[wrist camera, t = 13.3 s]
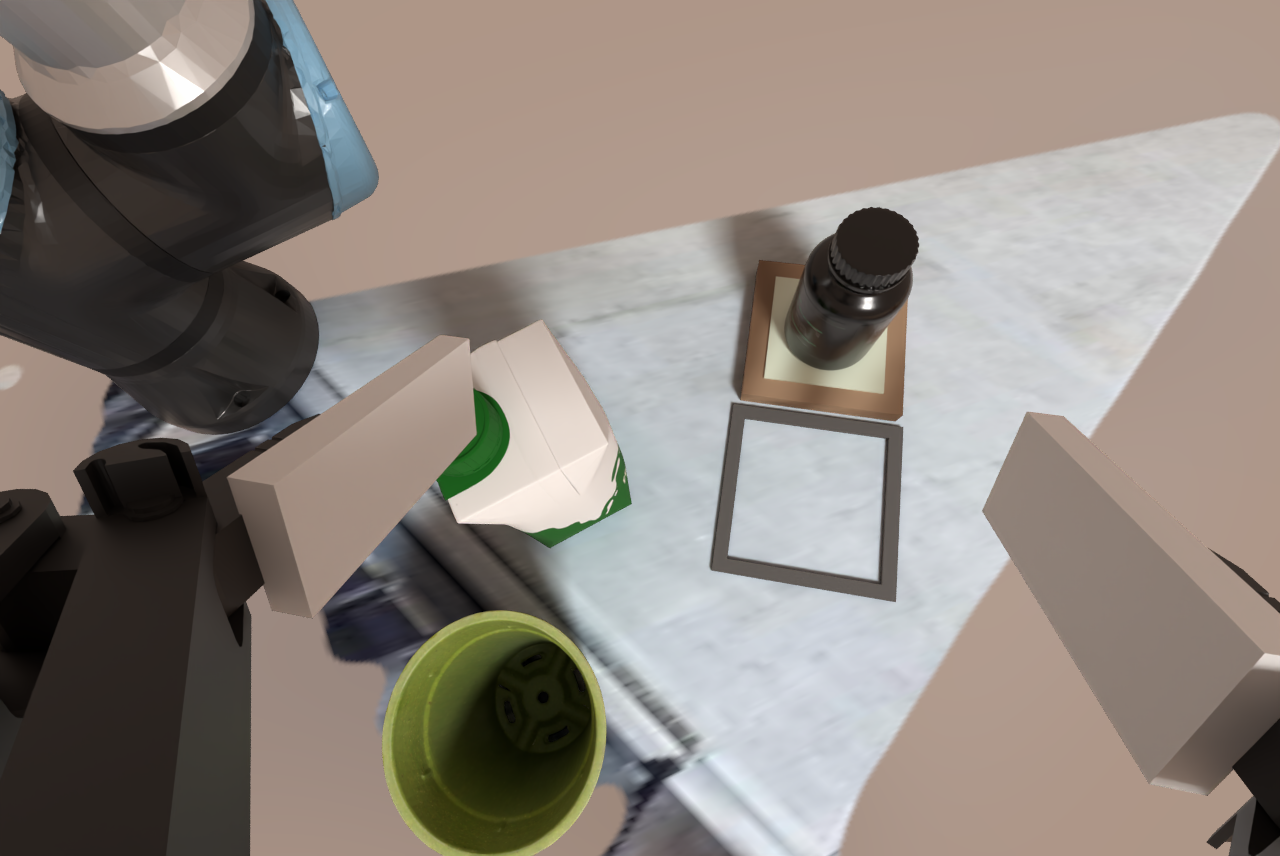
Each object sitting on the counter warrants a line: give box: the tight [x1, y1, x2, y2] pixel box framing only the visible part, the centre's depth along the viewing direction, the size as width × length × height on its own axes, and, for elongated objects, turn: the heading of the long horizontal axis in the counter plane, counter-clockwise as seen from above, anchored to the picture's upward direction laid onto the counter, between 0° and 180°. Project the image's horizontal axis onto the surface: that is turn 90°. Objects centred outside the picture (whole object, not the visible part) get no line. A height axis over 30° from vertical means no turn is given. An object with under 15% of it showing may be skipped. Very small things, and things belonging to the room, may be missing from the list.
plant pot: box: [382, 610, 606, 856], centre depth 34 cm, size 12×12×11 cm
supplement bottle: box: [784, 207, 919, 371], centre depth 39 cm, size 7×7×12 cm
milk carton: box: [436, 319, 632, 548], centre depth 34 cm, size 9×9×20 cm
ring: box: [712, 404, 903, 602], centre depth 42 cm, size 13×13×1 cm
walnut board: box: [740, 260, 908, 421], centre depth 45 cm, size 12×12×2 cm
